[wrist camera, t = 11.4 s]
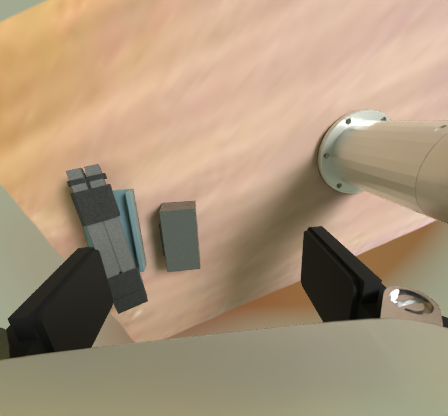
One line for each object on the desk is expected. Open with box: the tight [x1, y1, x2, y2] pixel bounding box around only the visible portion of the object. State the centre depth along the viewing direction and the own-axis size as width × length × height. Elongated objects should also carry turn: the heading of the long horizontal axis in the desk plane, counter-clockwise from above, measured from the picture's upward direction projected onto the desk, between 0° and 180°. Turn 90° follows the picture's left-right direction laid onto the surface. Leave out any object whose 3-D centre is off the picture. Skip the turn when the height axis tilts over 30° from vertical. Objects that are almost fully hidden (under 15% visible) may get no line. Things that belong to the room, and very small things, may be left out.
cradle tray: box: [83, 189, 146, 272], centre depth 35 cm, size 7×13×2 cm, turn 2°
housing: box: [159, 201, 200, 272], centre depth 36 cm, size 5×10×4 cm, turn 2°
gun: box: [66, 164, 148, 314], centre depth 34 cm, size 4×20×10 cm, turn 16°
